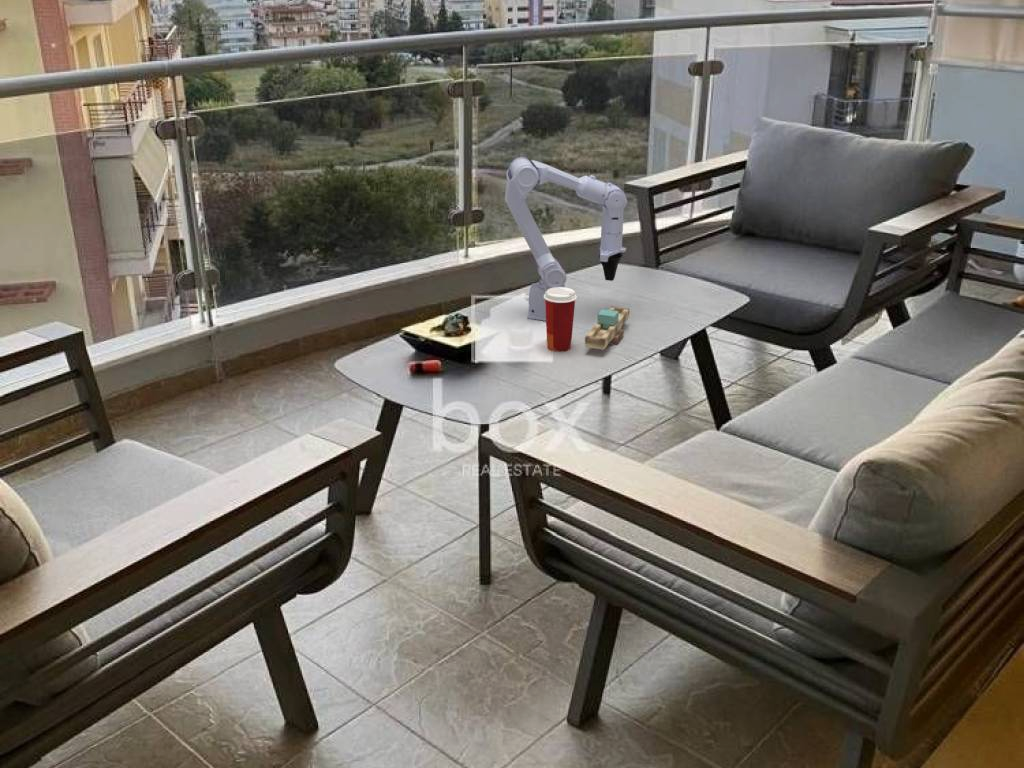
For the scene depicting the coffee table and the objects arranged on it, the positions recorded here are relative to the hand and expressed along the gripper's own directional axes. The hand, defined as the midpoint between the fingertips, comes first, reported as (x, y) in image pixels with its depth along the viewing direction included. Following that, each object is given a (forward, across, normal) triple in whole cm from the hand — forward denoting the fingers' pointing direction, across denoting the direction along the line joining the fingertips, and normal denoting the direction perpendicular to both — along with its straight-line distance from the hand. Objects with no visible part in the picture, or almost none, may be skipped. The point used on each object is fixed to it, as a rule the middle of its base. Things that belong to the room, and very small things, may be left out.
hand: (609, 279), depth 276 cm
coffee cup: (+10, -28, +5) cm, 30 cm away
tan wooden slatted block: (+10, -18, -5) cm, 21 cm away
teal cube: (+6, -18, -5) cm, 20 cm away
